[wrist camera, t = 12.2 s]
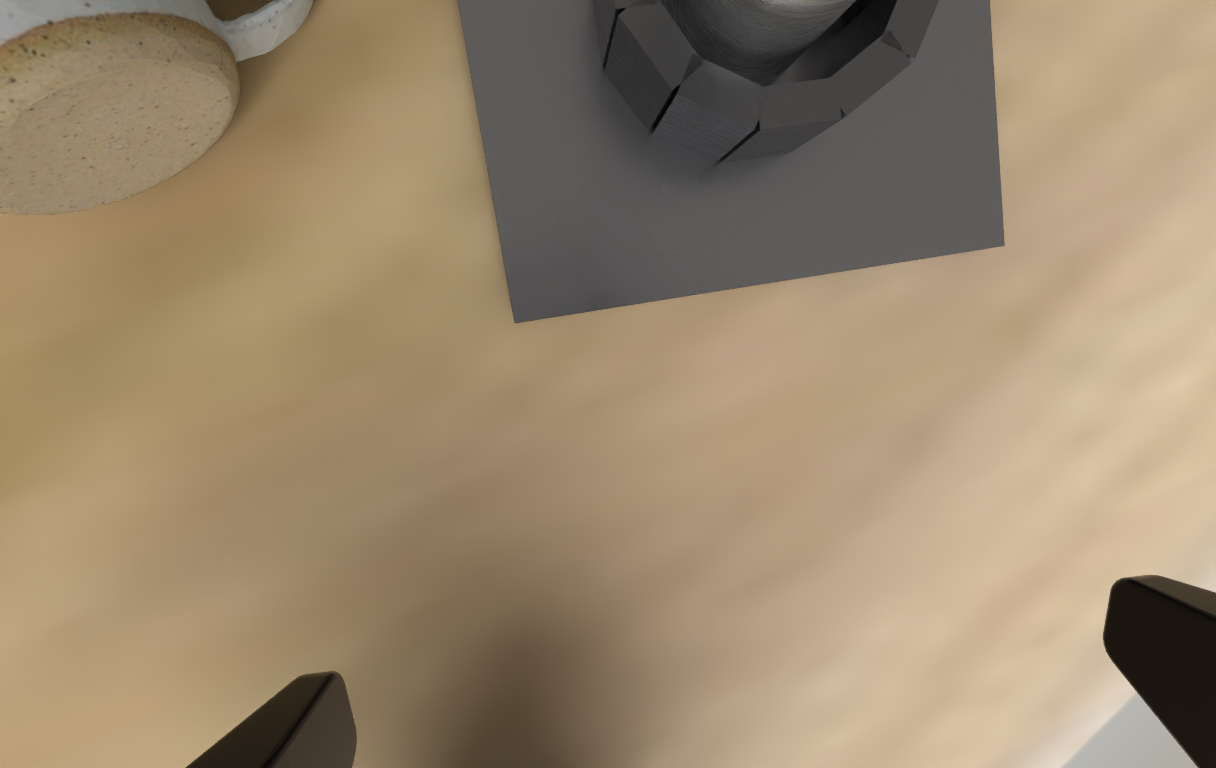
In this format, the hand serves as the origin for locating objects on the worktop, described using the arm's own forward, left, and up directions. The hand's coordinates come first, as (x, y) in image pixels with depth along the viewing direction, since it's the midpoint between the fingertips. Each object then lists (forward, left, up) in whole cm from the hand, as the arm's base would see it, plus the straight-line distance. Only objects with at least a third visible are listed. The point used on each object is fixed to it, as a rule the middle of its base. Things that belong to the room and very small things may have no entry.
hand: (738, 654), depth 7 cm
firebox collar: (+5, +12, -13) cm, 19 cm away
